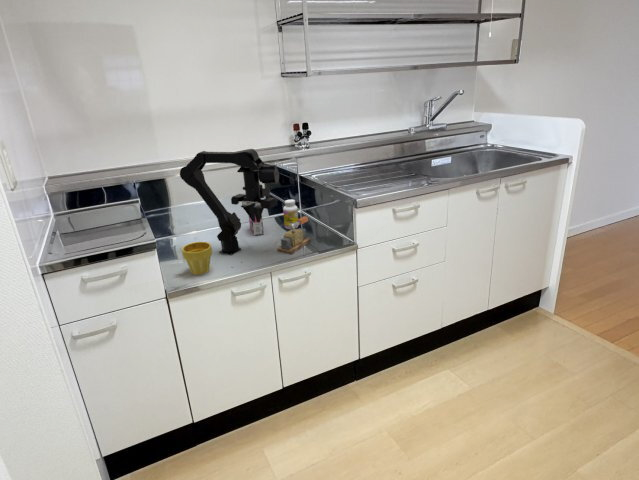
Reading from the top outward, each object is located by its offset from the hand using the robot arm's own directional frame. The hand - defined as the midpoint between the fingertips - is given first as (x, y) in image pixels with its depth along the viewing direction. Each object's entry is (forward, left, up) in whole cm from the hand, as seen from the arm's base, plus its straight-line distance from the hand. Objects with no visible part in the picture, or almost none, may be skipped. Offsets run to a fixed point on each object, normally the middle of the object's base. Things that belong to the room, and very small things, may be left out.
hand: (256, 222), depth 162 cm
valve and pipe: (+10, +11, -12) cm, 19 cm away
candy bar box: (-16, +19, -13) cm, 28 cm away
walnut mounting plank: (+10, +11, -13) cm, 20 cm away
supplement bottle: (-4, +30, -13) cm, 33 cm away
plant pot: (-10, -23, -13) cm, 28 cm away
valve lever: (+10, +15, -5) cm, 19 cm away
